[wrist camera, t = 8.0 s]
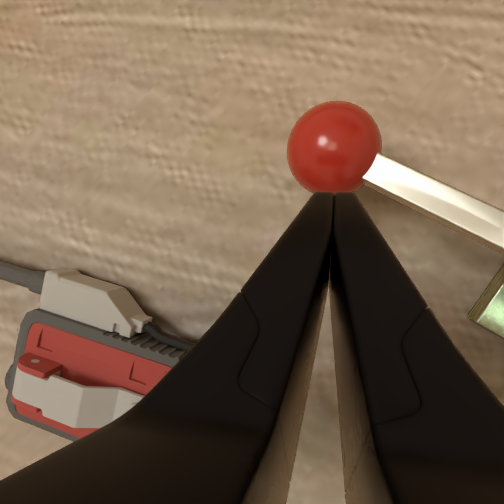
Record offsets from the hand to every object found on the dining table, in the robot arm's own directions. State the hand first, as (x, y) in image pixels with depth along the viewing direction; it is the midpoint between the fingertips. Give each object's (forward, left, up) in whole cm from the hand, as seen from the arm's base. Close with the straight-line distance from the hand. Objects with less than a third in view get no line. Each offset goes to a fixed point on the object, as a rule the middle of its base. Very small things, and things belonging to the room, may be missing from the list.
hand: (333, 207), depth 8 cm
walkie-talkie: (+9, +14, -11) cm, 20 cm away
